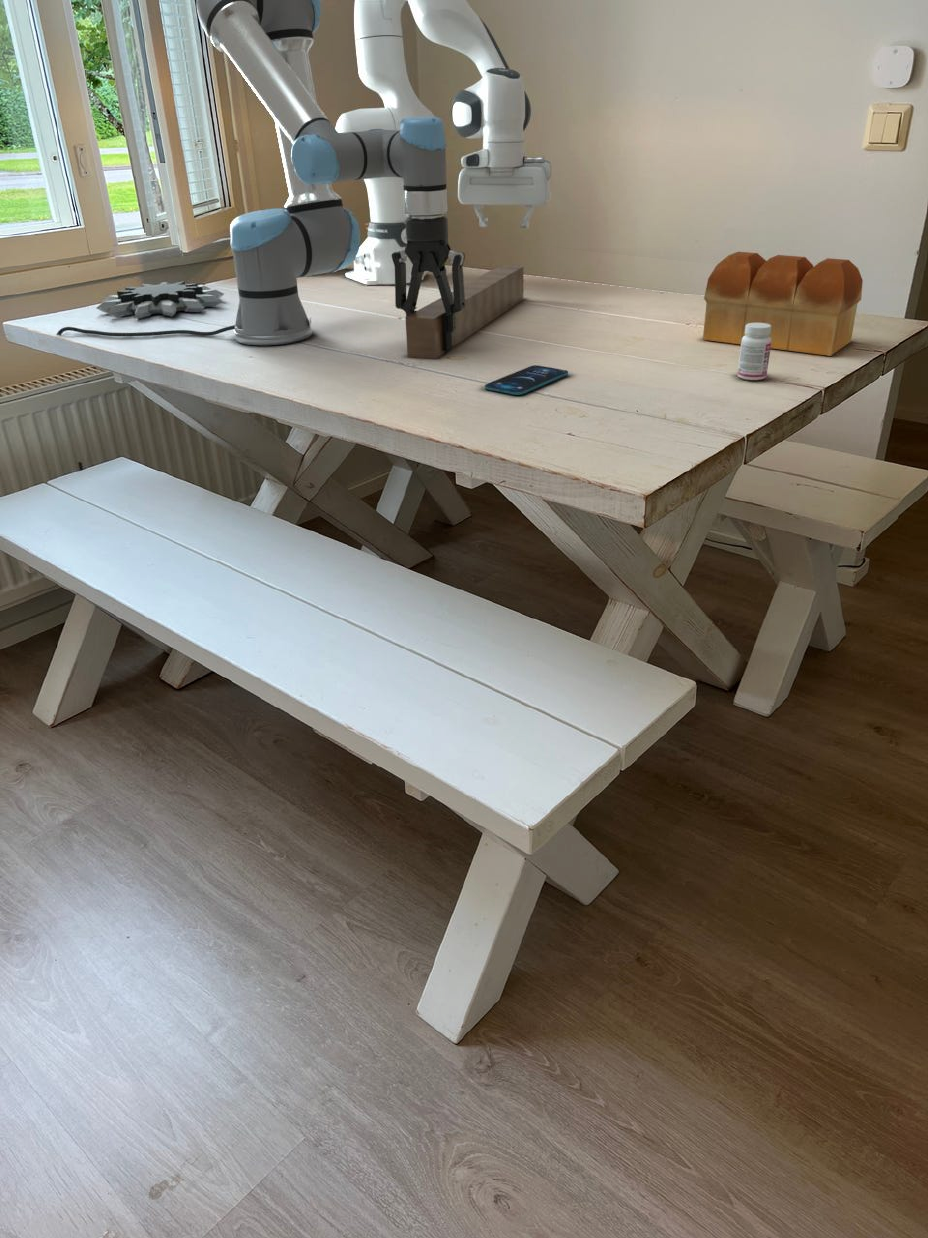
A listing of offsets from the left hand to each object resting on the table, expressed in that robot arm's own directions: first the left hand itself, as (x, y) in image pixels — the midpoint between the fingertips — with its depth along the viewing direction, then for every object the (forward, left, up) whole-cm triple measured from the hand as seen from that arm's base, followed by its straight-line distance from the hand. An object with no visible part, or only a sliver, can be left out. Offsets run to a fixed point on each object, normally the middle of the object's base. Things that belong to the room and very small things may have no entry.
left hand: (432, 347), depth 178 cm
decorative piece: (-74, +30, -1) cm, 80 cm away
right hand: (+5, +44, +16) cm, 47 cm away
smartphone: (+22, -18, -1) cm, 28 cm away
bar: (+2, +22, -1) cm, 22 cm away
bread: (+63, +16, -1) cm, 65 cm away
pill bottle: (+58, -9, -1) cm, 59 cm away
